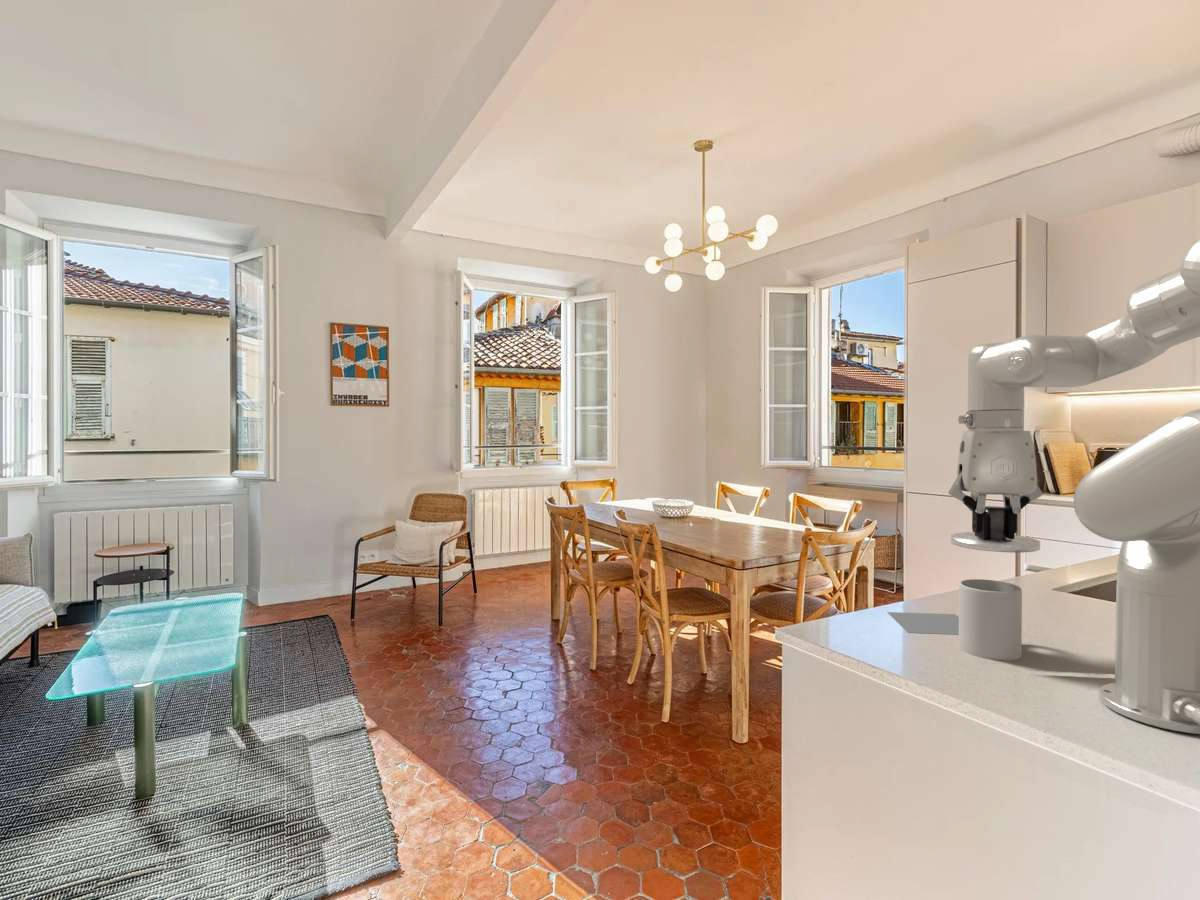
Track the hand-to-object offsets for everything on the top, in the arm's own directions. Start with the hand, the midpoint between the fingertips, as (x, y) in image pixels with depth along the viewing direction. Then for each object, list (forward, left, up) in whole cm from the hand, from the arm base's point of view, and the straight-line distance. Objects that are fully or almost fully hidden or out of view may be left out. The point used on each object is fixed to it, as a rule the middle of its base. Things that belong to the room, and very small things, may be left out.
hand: (994, 536), depth 99 cm
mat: (+12, +5, -19) cm, 23 cm away
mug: (0, 0, -19) cm, 19 cm away
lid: (0, 0, -1) cm, 1 cm away
